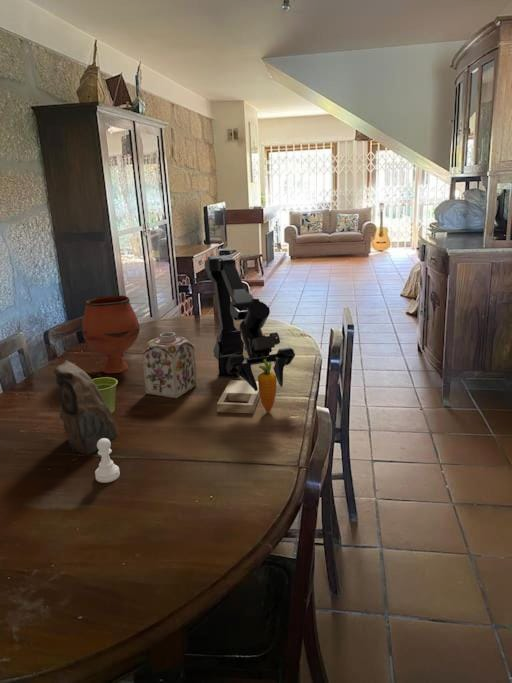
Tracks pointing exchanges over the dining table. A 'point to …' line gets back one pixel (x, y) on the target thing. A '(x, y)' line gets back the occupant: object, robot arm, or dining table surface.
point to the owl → (83, 409)
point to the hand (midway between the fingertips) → (269, 388)
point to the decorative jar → (169, 366)
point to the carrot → (267, 386)
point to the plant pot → (107, 390)
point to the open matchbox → (238, 397)
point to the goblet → (110, 329)
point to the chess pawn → (106, 463)
